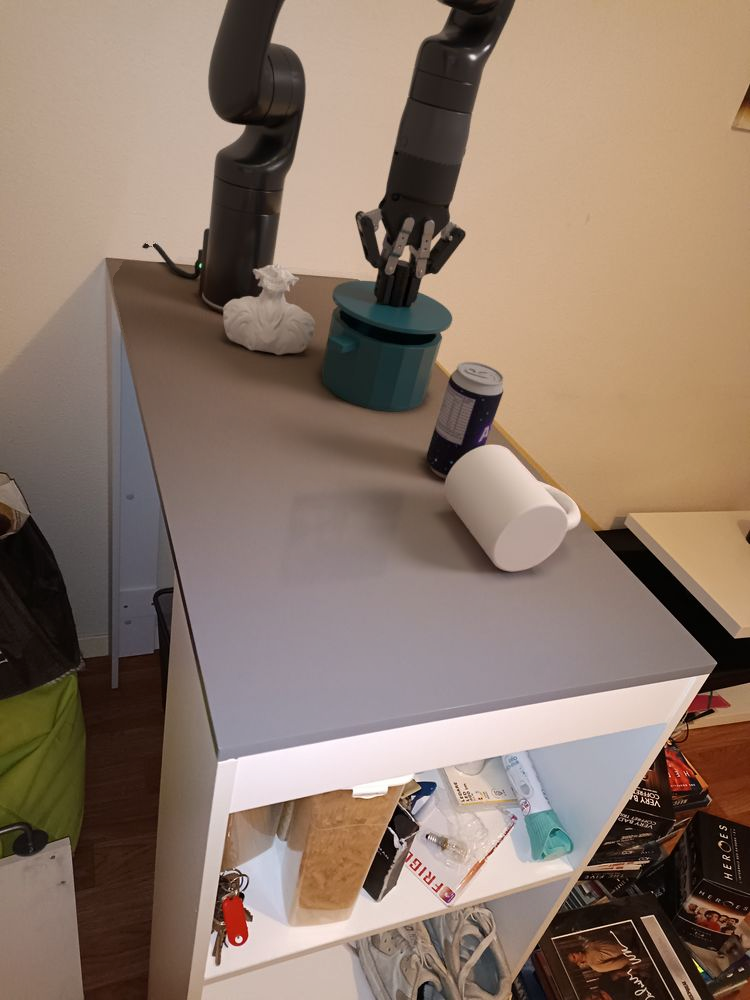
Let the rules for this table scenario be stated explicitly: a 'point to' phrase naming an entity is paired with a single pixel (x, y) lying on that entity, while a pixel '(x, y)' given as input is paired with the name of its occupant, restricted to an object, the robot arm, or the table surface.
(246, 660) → the table surface
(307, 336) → the white tied bag
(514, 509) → the mug
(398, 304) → the lid
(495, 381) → the beverage can
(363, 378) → the pot
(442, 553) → the table surface
